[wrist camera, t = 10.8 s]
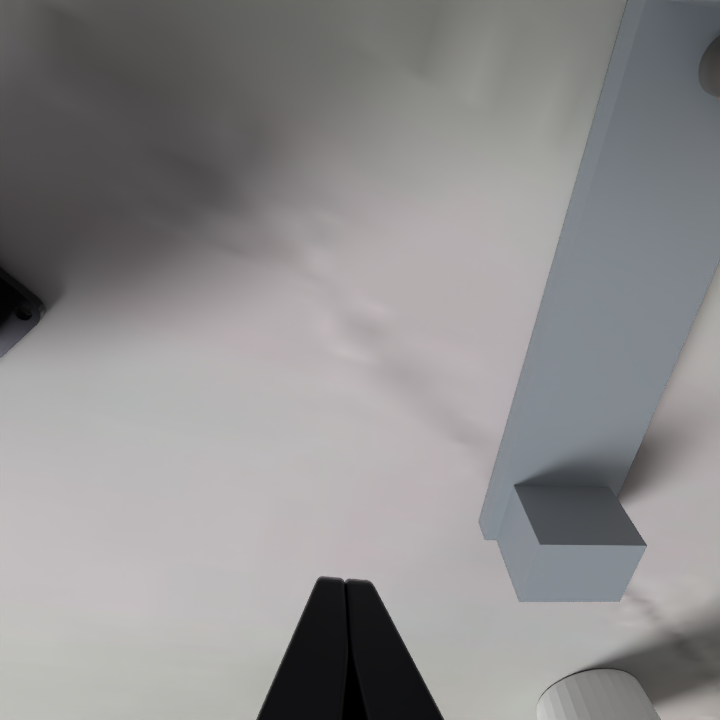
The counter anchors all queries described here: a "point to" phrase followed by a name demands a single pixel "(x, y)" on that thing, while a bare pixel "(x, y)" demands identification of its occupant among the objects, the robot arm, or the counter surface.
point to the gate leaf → (711, 69)
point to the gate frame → (612, 312)
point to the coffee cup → (596, 698)
